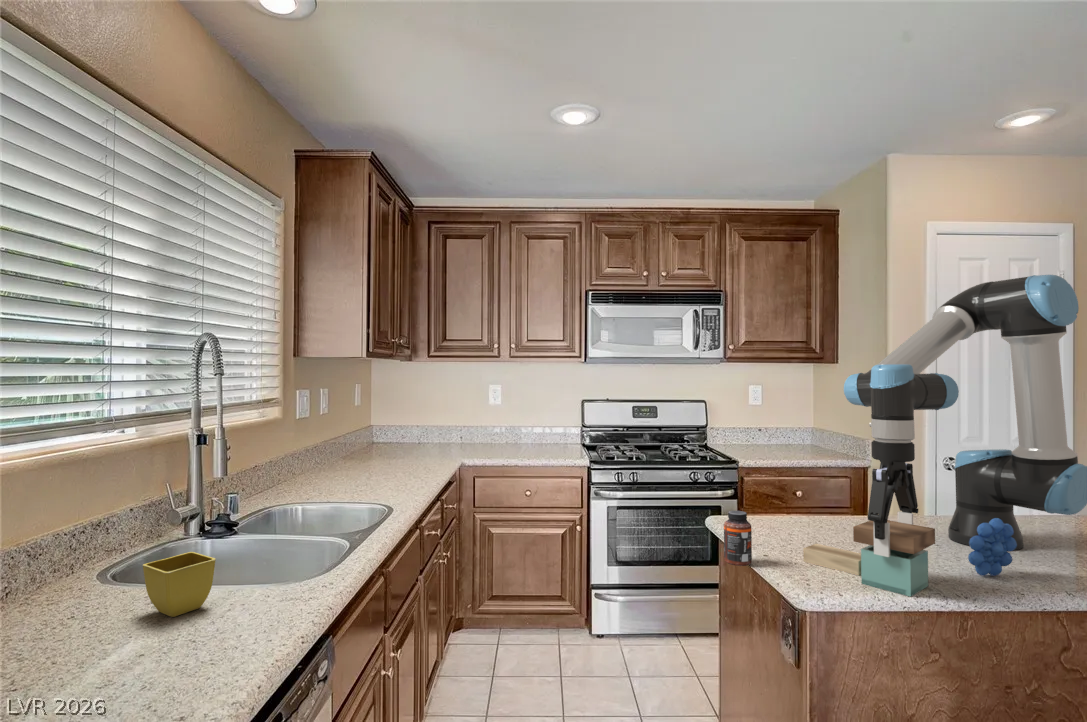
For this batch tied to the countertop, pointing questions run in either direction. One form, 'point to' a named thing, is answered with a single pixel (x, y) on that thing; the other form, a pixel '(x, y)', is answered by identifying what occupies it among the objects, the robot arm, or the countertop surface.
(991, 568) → the grapes
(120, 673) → the countertop surface
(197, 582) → the flower pot
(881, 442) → the robot arm
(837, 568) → the wooden block
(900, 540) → the lid
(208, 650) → the countertop surface
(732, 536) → the supplement bottle
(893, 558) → the teal open box
